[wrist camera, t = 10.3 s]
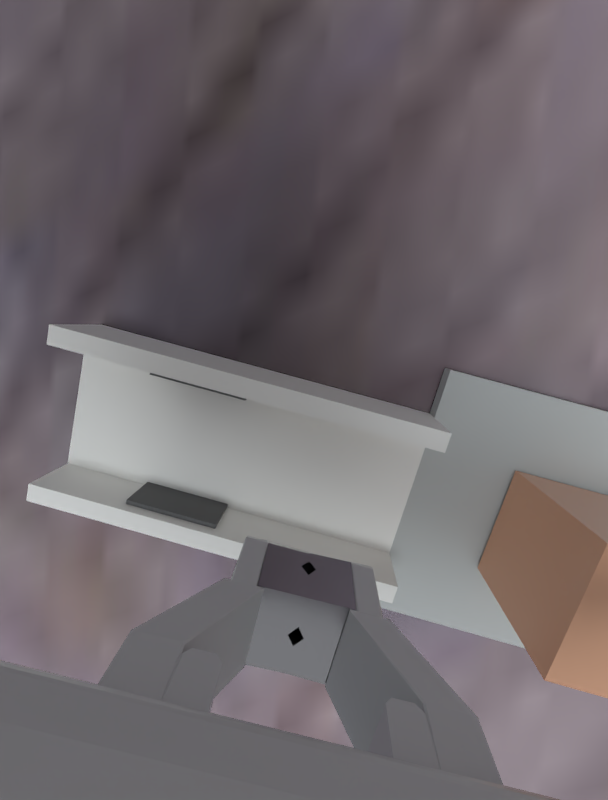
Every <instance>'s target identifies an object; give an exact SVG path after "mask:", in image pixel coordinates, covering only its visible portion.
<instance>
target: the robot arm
mask: <svg viewBox="0 0 608 800" xmlns="http://www.w3.org/2000/svg"><path fill="white" fill-rule="evenodd" d="M267 543H268V545H267ZM266 548H267V549H266ZM245 665H250V666H254V667H259V668H264V669H268V670H273V671H278V672H282V673H286V674H290V675H293V676H297V677H300V678H304V679H307V680H311V681H315V682H318V683H322V684H325V688H326V690H327V692H328V694H329V696H330V698H331V700H332V702H333V704H334V707H335V709H336V711H337V713H338V715H339V717H340V719H341V721H342V723H343V725H344V727H345V730H346V732H347V734H348V736H349V738H350V740H351V742H352V744H353V746H354V748H352V747H348V746H344V745H340V744H335V743H331V742H327V741H323V740H319V739H315V738H311V737H307V736H303V735H299V734H295V733H291V732H287V731H283V730H279V729H275V728H271V727H267V726H263V725H259V724H255V723H250V722H246V721H242V720H238V719H234V718H230V717H226V716H222V715H218V714H214V713H210V711H211V707H212V703H213V699H214V698H215V697H216V696H217V695H218V694H219V692H220V691H221V690H222V689H223V688H224V687H225V686H226V685H227V684H228V683H229V682H230V681H231V680H232V679H233V678H234V677H235V676H236V675H237V674H238V673H239V672H240V671H241V670H242V669H243V668H244V666H245ZM0 800H560V799H556V798H552V797H548V796H544V795H540V794H536V793H532V792H528V791H524V790H520V789H516V788H512V787H508V786H504V785H503V783H502V780H501V778H500V775H499V772H498V770H497V767H496V764H495V762H494V759H493V757H492V754H491V751H490V749H489V746H488V743H487V741H486V738H485V735H484V733H483V730H482V727H481V725H480V722H479V719H478V717H477V716H476V715H475V714H474V713H473V712H472V710H471V709H470V708H469V707H468V706H467V705H466V704H465V703H464V702H463V701H462V699H461V698H460V697H459V696H458V695H457V694H456V693H455V692H454V691H453V689H452V688H451V687H450V686H449V685H448V684H447V683H446V682H445V681H444V679H443V678H442V677H441V676H440V675H439V674H438V673H437V672H436V671H435V669H434V668H433V667H432V666H431V665H430V664H429V663H428V662H427V661H426V659H425V658H424V657H423V656H422V655H421V654H420V653H419V652H418V651H417V650H416V648H415V647H414V646H413V645H412V644H411V643H410V642H409V641H408V640H407V638H406V637H405V636H404V635H403V634H402V633H401V632H400V631H399V630H398V628H397V627H396V626H395V625H394V624H393V623H392V622H391V621H390V620H389V619H386V618H383V616H382V611H381V606H380V601H379V596H378V591H377V586H376V581H375V576H374V571H373V568H372V567H371V566H367V565H363V564H358V563H353V562H348V561H343V560H339V559H334V558H330V557H325V556H321V555H316V554H312V553H309V552H307V551H303V550H300V549H296V548H292V547H289V546H285V545H281V544H278V543H274V542H270V541H268V542H267V540H263V539H259V538H255V537H251V536H247V537H246V538H245V541H244V543H243V546H242V549H241V552H240V555H239V558H238V561H237V563H236V566H235V569H234V572H233V575H232V578H231V579H227V578H224V579H222V580H220V581H218V582H217V583H215V584H213V585H211V586H209V587H208V588H206V589H204V590H202V591H200V592H199V593H197V594H195V595H193V596H191V597H190V598H188V599H186V600H184V601H182V602H181V603H179V604H177V605H175V606H173V607H172V608H170V609H168V610H166V611H165V612H163V613H161V614H159V615H157V616H156V617H154V618H152V619H150V620H148V621H147V622H145V623H143V624H141V625H139V626H138V627H136V628H134V629H132V630H131V631H130V633H129V635H128V636H127V638H126V639H125V641H124V643H123V644H122V646H121V648H120V649H119V651H118V652H117V654H116V656H115V657H114V659H113V661H112V662H111V664H110V665H109V667H108V669H107V670H106V672H105V674H104V675H103V677H102V678H101V680H100V682H99V683H98V684H94V683H90V682H86V681H82V680H78V679H74V678H70V677H66V676H62V675H58V674H54V673H50V672H46V671H42V670H38V669H34V668H29V667H25V666H21V665H17V664H13V663H9V662H5V661H1V660H0Z"/></svg>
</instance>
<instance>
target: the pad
mask: <svg viewBox="0 0 608 800" xmlns="http://www.w3.org/2000/svg"><path fill="white" fill-rule="evenodd" d="M430 414H431V415H432V416H433V417H434V418H435V419H436V420H437V421H439V422H440V423H441V424H442V425H443V426H444V427H445V428H446V429H447V430H448V431H450V432H451V433H452V435H451V437H450V440H449V443H448V446H447V449H446V452H445V453H443V452H439V451H436V450H432V449H428V448H425V450H424V453H423V455H422V458H421V461H420V464H419V467H418V470H417V473H416V476H415V479H414V482H413V485H412V488H411V491H410V494H409V497H408V500H407V503H406V506H405V508H404V511H403V514H402V517H401V520H400V523H399V526H398V529H397V532H396V535H395V538H394V541H393V544H392V547H391V550H390V557H391V561H392V565H393V569H394V573H395V577H396V581H397V585H398V588H397V591H396V594H395V597H394V600H393V603H388V602H385V601H381V600H379V601H380V606H381V608H383V609H387V610H391V611H394V612H398V613H401V614H405V615H408V616H412V617H415V618H419V619H423V620H426V621H430V622H433V623H437V624H440V625H444V626H447V627H451V628H455V629H458V630H462V631H465V632H469V633H472V634H476V635H479V636H483V637H486V638H490V639H494V640H497V641H501V642H504V643H508V644H511V645H515V646H518V647H522V648H525V647H524V645H523V643H522V642H521V640H520V638H519V637H518V635H517V633H516V632H515V630H514V628H513V627H512V625H511V623H510V622H509V620H508V618H507V617H506V615H505V613H504V612H503V610H502V608H501V607H500V605H499V603H498V602H497V600H496V598H495V597H494V595H493V593H492V591H491V590H490V588H489V586H488V585H487V583H486V581H485V580H484V578H483V576H482V575H481V573H480V571H479V570H478V565H479V563H480V560H481V557H482V555H483V552H484V550H485V547H486V545H487V542H488V540H489V537H490V535H491V532H492V529H493V527H494V524H495V522H496V519H497V517H498V514H499V512H500V509H501V507H502V504H503V501H504V499H505V496H506V494H507V491H508V489H509V486H510V484H511V481H512V479H513V476H514V473H515V471H520V472H523V473H527V474H531V475H534V476H538V477H542V478H545V479H549V480H553V481H556V482H560V483H564V484H567V485H571V486H575V487H578V488H582V489H586V490H589V491H593V492H597V493H600V494H604V495H608V411H604V410H601V409H597V408H593V407H589V406H586V405H582V404H578V403H574V402H571V401H567V400H563V399H560V398H556V397H552V396H548V395H545V394H541V393H537V392H533V391H530V390H526V389H522V388H518V387H515V386H511V385H507V384H504V383H500V382H496V381H492V380H489V379H485V378H481V377H477V376H474V375H470V374H466V373H463V372H459V371H455V370H451V369H448V368H445V369H444V372H443V375H442V378H441V381H440V384H439V387H438V390H437V393H436V396H435V399H434V402H433V405H432V408H431V411H430Z"/></svg>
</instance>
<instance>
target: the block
mask: <svg viewBox="0 0 608 800" xmlns="http://www.w3.org/2000/svg"><path fill="white" fill-rule="evenodd" d="M478 570H479V571H480V573H481V575H482V576H483V578H484V580H485V581H486V583H487V585H488V586H489V588H490V590H491V591H492V593H493V595H494V597H495V598H496V600H497V602H498V603H499V605H500V607H501V608H502V610H503V612H504V613H505V615H506V617H507V618H508V620H509V622H510V623H511V625H512V627H513V628H514V630H515V632H516V633H517V635H518V637H519V638H520V640H521V642H522V643H523V645H524V647H525V648H526V650H527V652H528V654H529V655H530V657H531V659H532V660H533V662H534V664H535V665H536V667H537V669H538V670H539V672H540V674H541V675H542V677H543V679H544V680H545V681H549V682H552V683H556V684H559V685H563V686H566V687H570V688H573V689H577V690H580V691H584V692H587V693H591V694H594V695H598V696H602V697H605V698H608V495H604V494H600V493H597V492H593V491H589V490H586V489H582V488H578V487H575V486H571V485H567V484H564V483H560V482H556V481H553V480H549V479H545V478H542V477H538V476H534V475H531V474H527V473H523V472H520V471H515V473H514V476H513V479H512V481H511V484H510V486H509V489H508V491H507V494H506V496H505V499H504V501H503V504H502V507H501V509H500V512H499V514H498V517H497V519H496V522H495V524H494V527H493V529H492V532H491V535H490V537H489V540H488V542H487V545H486V547H485V550H484V552H483V555H482V557H481V560H480V563H479V565H478Z"/></svg>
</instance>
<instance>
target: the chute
mask: <svg viewBox="0 0 608 800" xmlns="http://www.w3.org/2000/svg"><path fill="white" fill-rule="evenodd" d="M47 345H50V346H54V347H58V348H61V349H65V350H69V351H72V352H76V353H80V354H83V355H84V356H83V363H82V370H81V376H80V383H79V390H78V397H77V403H76V410H75V417H74V423H73V430H72V437H71V444H70V450H69V457H68V463H67V464H65V465H63V466H62V467H60V468H58V469H56V470H54V471H52V472H50V473H48V474H46V475H44V476H42V477H40V478H39V479H37V480H35V481H33V482H31V483H29V485H28V492H27V500H26V501H29V502H33V503H36V504H40V505H43V506H47V507H50V508H54V509H58V510H61V511H65V512H68V513H72V514H75V515H79V516H82V517H86V518H90V519H93V520H97V521H100V522H104V523H107V524H111V525H115V526H118V527H122V528H125V529H129V530H132V531H136V532H139V533H143V534H147V535H150V536H154V537H157V538H161V539H164V540H168V541H171V542H175V543H179V544H182V545H186V546H189V547H193V548H196V549H200V550H203V551H207V552H211V553H214V554H218V555H221V556H225V557H228V558H232V559H235V560H238V558H239V555H240V552H241V549H242V546H243V543H244V541H245V538H246V537H247V536H251V537H255V538H259V539H263V540H267V542H268V541H270V542H274V543H278V544H281V545H285V546H289V547H292V548H296V549H300V550H303V551H307V552H309V553H312V554H316V555H321V556H325V557H330V558H334V559H339V560H343V561H348V562H353V563H358V564H363V565H367V566H371V567H372V568H373V571H374V576H375V581H376V586H377V591H378V596H379V600H381V601H385V602H388V603H393V600H394V597H395V594H396V591H397V588H398V585H397V581H396V577H395V573H394V569H393V565H392V561H391V557H390V550H391V547H392V544H393V541H394V538H395V535H396V532H397V529H398V526H399V523H400V520H401V517H402V514H403V511H404V508H405V506H406V503H407V500H408V497H409V494H410V491H411V488H412V485H413V482H414V479H415V476H416V473H417V470H418V467H419V464H420V461H421V458H422V455H423V453H424V450H425V448H428V449H432V450H436V451H439V452H443V453H445V452H446V449H447V446H448V443H449V440H450V437H451V435H452V433H451V432H450V431H448V430H447V429H446V428H445V427H444V426H443V425H442V424H441V423H440V422H439V421H437V420H436V419H435V418H434V417H433V416H432V415H431V414H430V413H426V412H423V411H419V410H415V409H412V408H408V407H404V406H401V405H397V404H393V403H389V402H386V401H382V400H378V399H375V398H371V397H367V396H364V395H360V394H356V393H353V392H349V391H345V390H341V389H338V388H334V387H330V386H327V385H323V384H319V383H316V382H312V381H308V380H305V379H301V378H297V377H293V376H290V375H286V374H282V373H279V372H275V371H271V370H268V369H264V368H260V367H257V366H253V365H249V364H245V363H242V362H238V361H234V360H231V359H227V358H223V357H220V356H216V355H212V354H208V353H205V352H201V351H197V350H194V349H190V348H186V347H183V346H179V345H175V344H172V343H168V342H164V341H160V340H157V339H153V338H149V337H146V336H142V335H138V334H135V333H131V332H127V331H124V330H120V329H116V328H112V327H109V326H105V325H101V324H49V329H48V337H47ZM267 545H268V543H267ZM266 549H267V548H266Z"/></svg>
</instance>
